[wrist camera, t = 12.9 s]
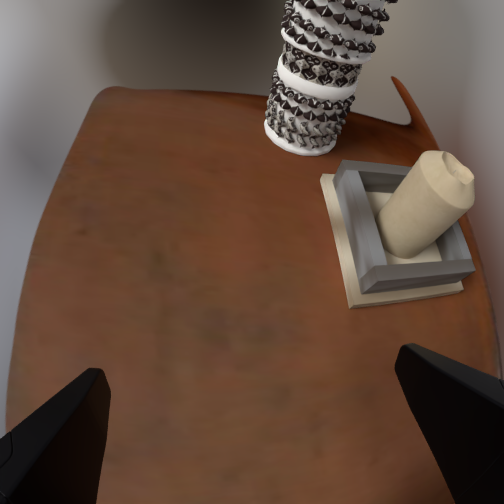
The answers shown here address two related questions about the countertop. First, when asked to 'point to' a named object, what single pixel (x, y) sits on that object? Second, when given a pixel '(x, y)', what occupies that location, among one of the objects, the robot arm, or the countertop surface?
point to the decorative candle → (319, 70)
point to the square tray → (370, 247)
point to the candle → (425, 204)
